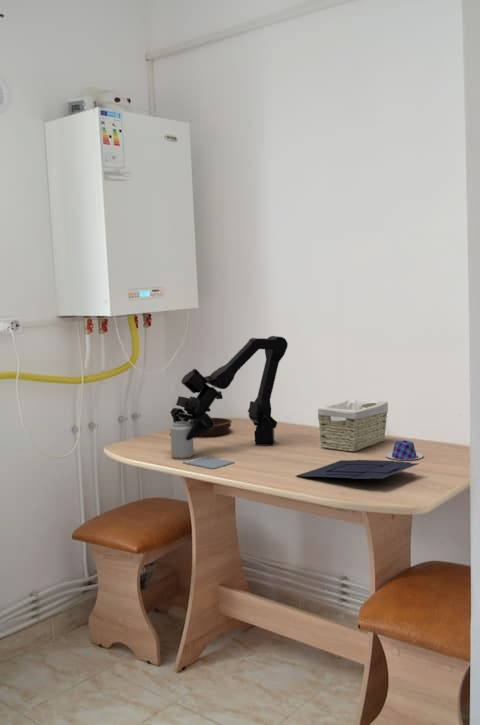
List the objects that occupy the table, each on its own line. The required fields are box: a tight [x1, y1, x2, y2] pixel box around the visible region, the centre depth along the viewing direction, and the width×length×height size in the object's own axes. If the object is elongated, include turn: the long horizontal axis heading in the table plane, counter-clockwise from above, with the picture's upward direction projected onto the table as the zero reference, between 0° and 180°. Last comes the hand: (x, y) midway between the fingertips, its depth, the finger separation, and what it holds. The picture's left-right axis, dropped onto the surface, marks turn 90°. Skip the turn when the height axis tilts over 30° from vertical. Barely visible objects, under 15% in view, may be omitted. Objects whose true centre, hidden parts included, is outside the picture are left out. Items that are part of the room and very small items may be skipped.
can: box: [170, 421, 195, 460], centre depth 260 cm, size 8×8×12 cm
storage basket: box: [317, 398, 389, 452], centre depth 270 cm, size 24×16×15 cm
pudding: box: [385, 440, 424, 461], centre depth 251 cm, size 12×12×5 cm
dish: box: [188, 417, 233, 438], centre depth 298 cm, size 18×22×5 cm
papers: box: [295, 459, 421, 480], centre depth 229 cm, size 24×30×4 cm
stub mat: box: [182, 455, 236, 470], centre depth 251 cm, size 14×10×1 cm
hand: (178, 438), depth 259 cm, fingers open, 9 cm apart
